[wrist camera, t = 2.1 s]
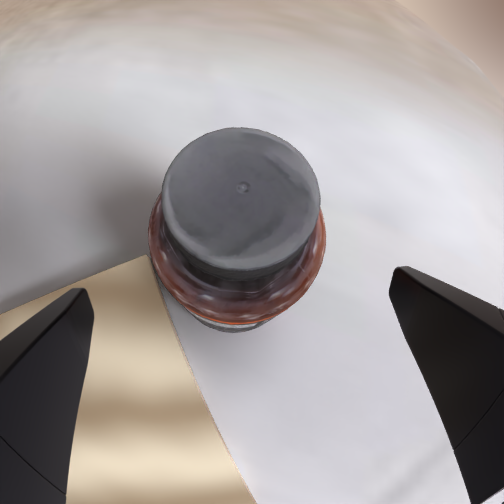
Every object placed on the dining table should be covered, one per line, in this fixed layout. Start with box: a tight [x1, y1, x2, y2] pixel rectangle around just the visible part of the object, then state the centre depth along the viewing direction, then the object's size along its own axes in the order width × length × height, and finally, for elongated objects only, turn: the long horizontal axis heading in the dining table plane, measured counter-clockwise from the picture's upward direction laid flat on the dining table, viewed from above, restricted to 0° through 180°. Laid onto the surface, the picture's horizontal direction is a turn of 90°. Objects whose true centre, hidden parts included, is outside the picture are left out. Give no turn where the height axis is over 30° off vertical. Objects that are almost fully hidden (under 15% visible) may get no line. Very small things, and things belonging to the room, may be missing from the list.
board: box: [0, 254, 257, 504], centre depth 15 cm, size 16×12×1 cm
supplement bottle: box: [148, 127, 326, 333], centre depth 13 cm, size 6×6×11 cm
